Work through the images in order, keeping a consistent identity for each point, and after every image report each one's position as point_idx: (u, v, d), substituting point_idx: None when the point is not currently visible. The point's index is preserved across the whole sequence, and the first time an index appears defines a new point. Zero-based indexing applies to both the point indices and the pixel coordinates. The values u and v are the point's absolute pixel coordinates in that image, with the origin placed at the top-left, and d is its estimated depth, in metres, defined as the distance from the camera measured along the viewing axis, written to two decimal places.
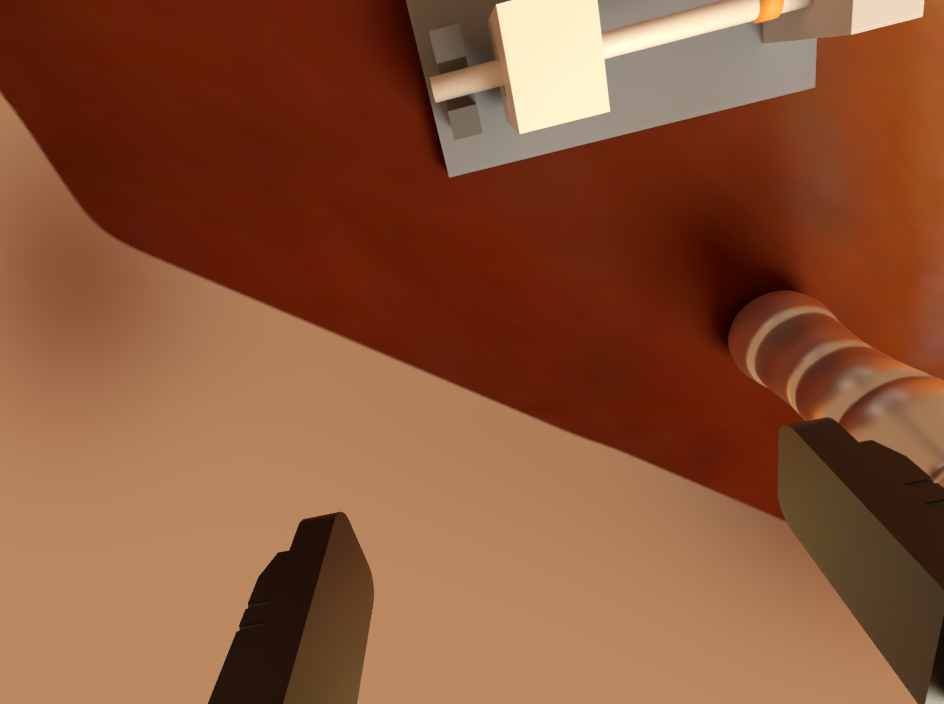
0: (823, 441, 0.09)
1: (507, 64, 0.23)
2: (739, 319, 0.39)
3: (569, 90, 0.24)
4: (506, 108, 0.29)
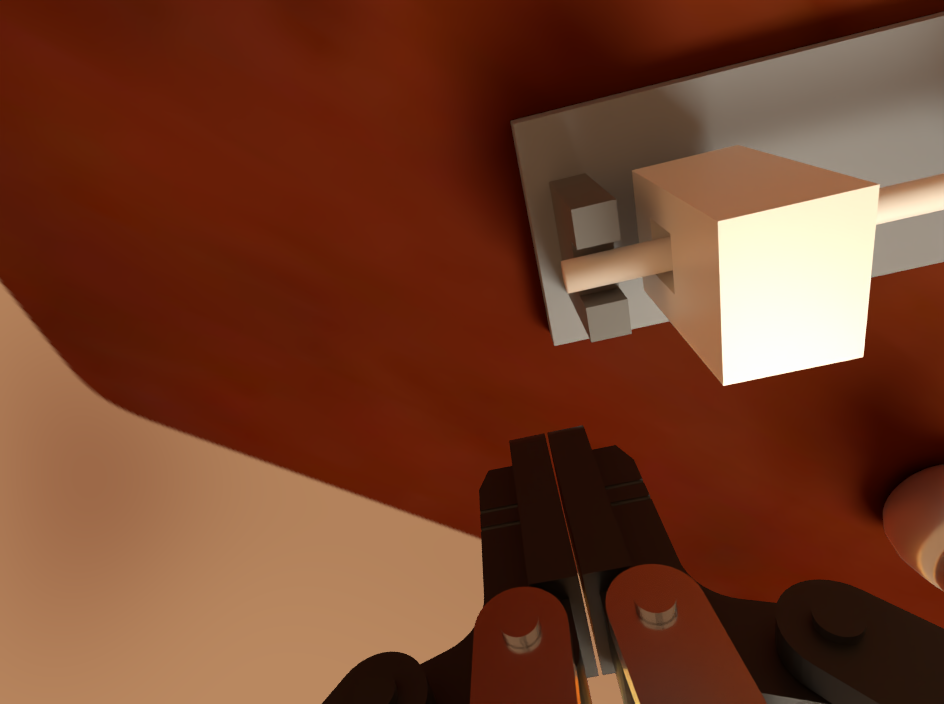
0: (565, 447, 0.10)
1: (720, 298, 0.15)
2: (905, 501, 0.31)
3: (809, 331, 0.16)
4: (659, 292, 0.21)
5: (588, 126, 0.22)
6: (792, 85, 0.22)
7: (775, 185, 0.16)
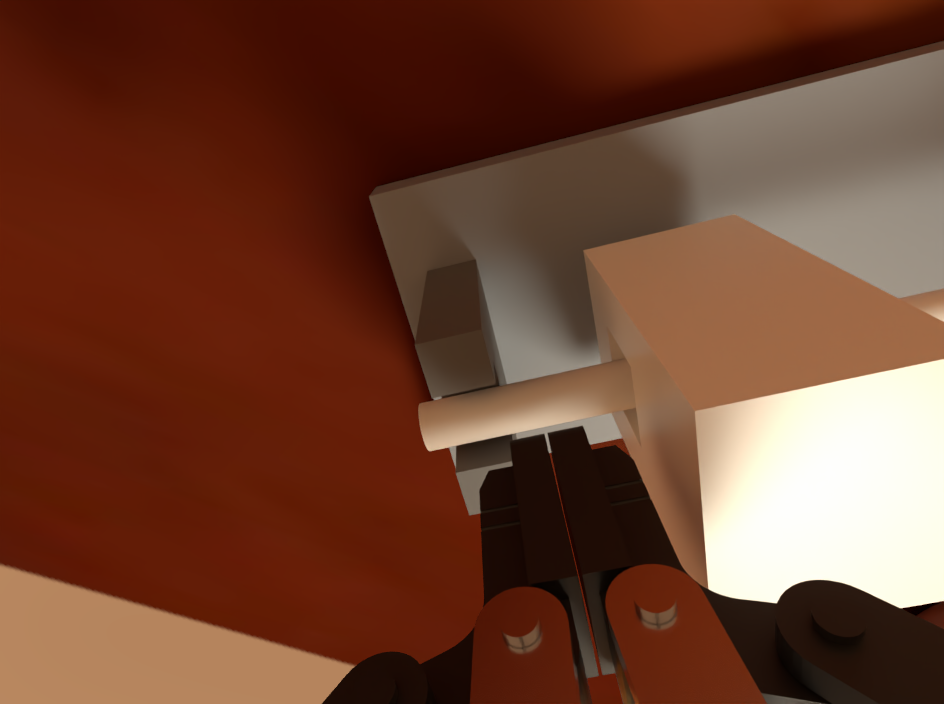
0: (565, 446, 0.10)
1: (704, 523, 0.09)
2: None
3: (857, 567, 0.09)
4: (624, 426, 0.15)
5: (474, 198, 0.16)
6: (758, 140, 0.15)
7: (796, 319, 0.09)
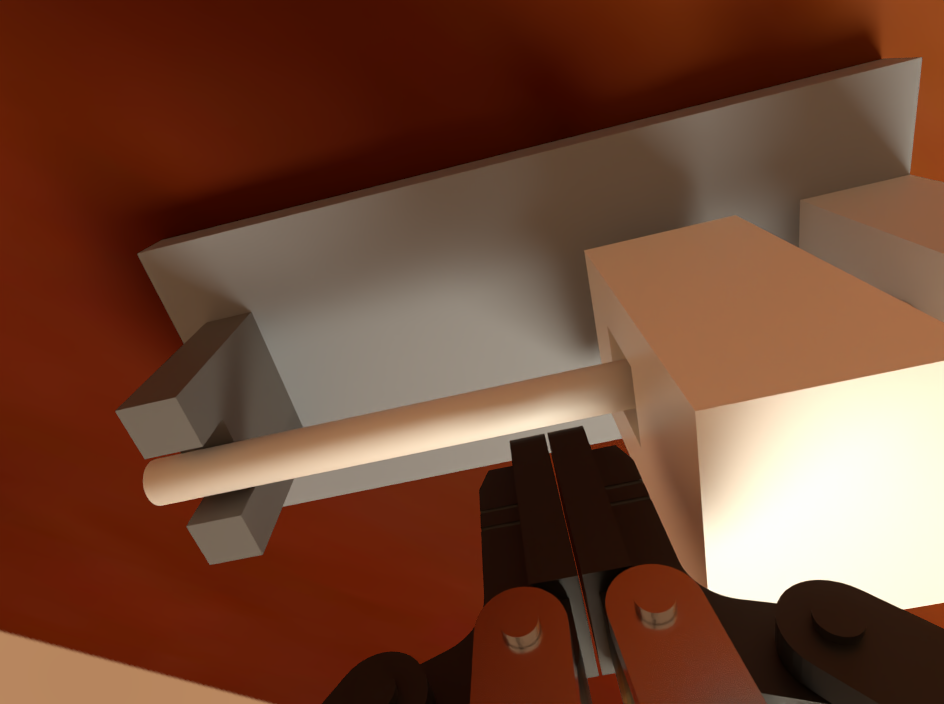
0: (565, 447, 0.10)
1: (703, 523, 0.09)
2: None
3: (855, 568, 0.09)
4: (624, 426, 0.15)
5: (239, 256, 0.16)
6: (504, 203, 0.16)
7: (796, 320, 0.09)
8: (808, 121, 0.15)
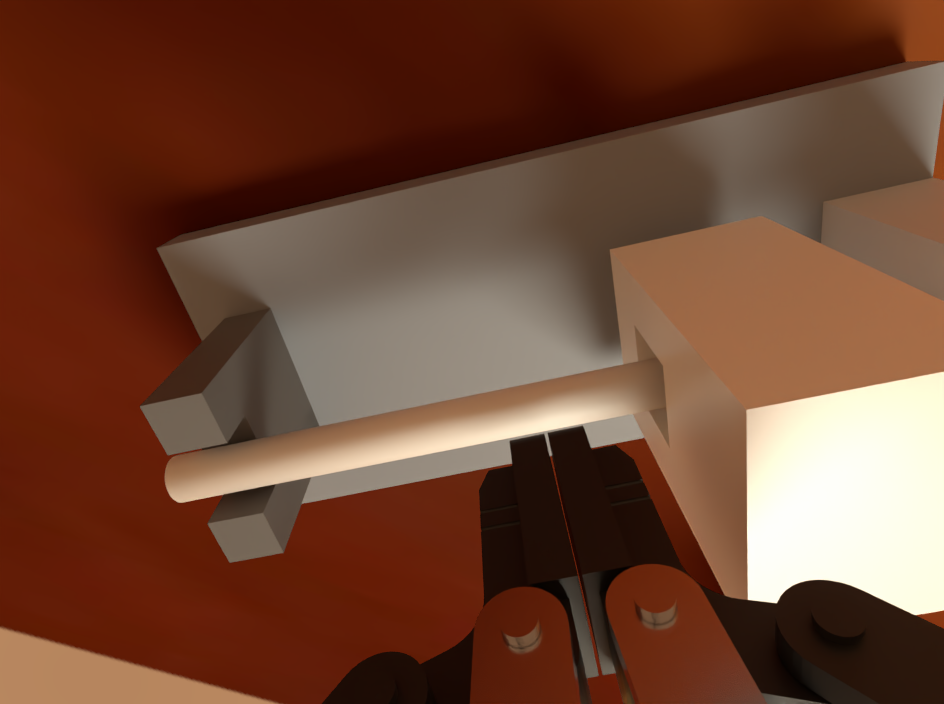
0: (565, 446, 0.10)
1: (747, 523, 0.09)
2: None
3: (897, 569, 0.09)
4: (648, 426, 0.15)
5: (260, 251, 0.16)
6: (528, 202, 0.16)
7: (839, 320, 0.09)
8: (833, 123, 0.15)
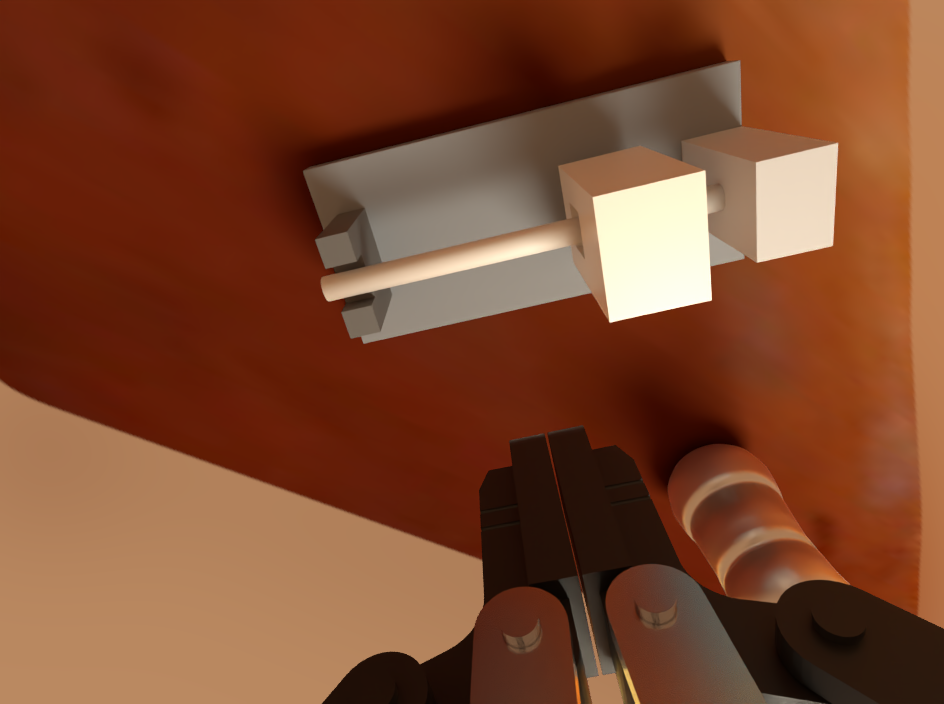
0: (565, 447, 0.10)
1: (600, 254, 0.21)
2: (677, 474, 0.37)
3: (668, 279, 0.21)
4: (579, 261, 0.27)
5: (361, 172, 0.29)
6: (513, 142, 0.28)
7: (643, 173, 0.22)
8: (681, 95, 0.27)
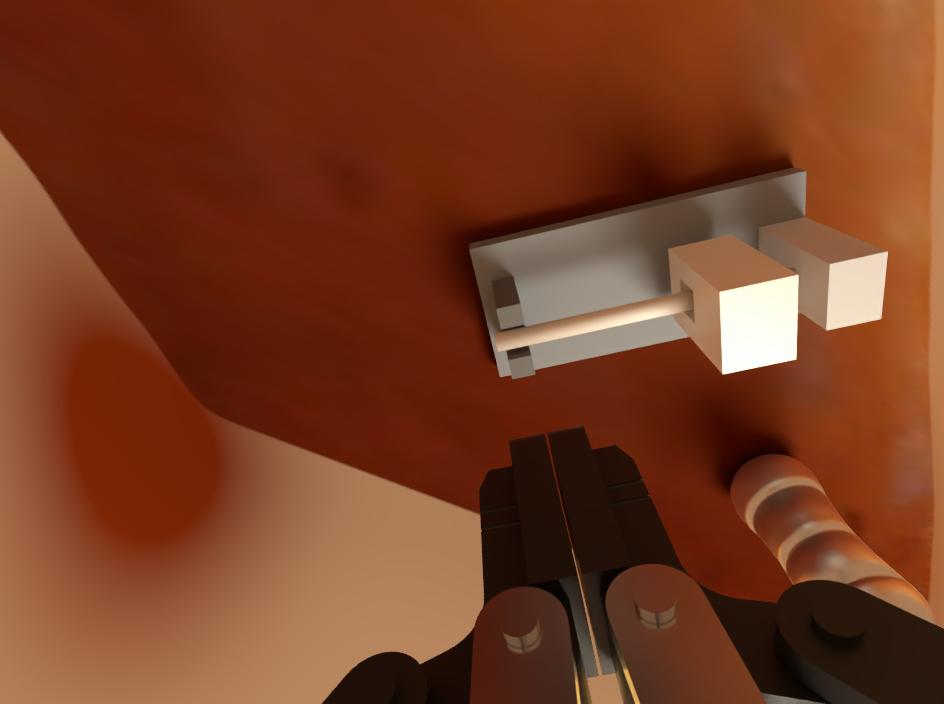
0: (565, 446, 0.10)
1: (721, 329, 0.30)
2: (739, 478, 0.46)
3: (767, 345, 0.30)
4: (684, 321, 0.36)
5: (513, 250, 0.38)
6: (631, 228, 0.37)
7: (749, 270, 0.30)
8: (761, 195, 0.36)
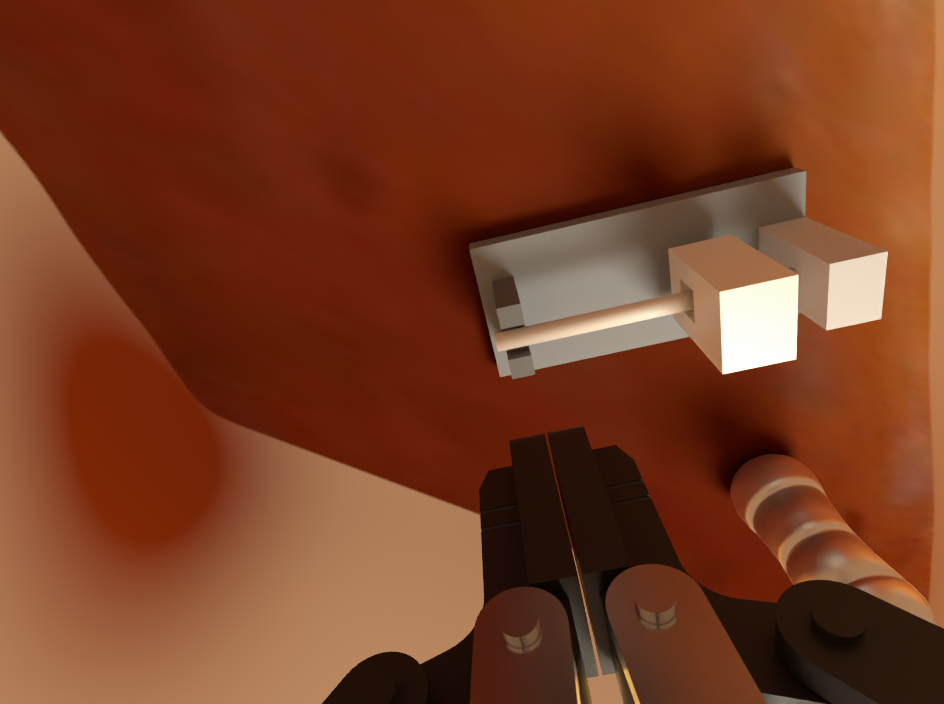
0: (565, 446, 0.10)
1: (721, 329, 0.30)
2: (739, 478, 0.46)
3: (767, 345, 0.30)
4: (684, 321, 0.36)
5: (513, 250, 0.38)
6: (631, 228, 0.37)
7: (749, 270, 0.30)
8: (761, 195, 0.36)
